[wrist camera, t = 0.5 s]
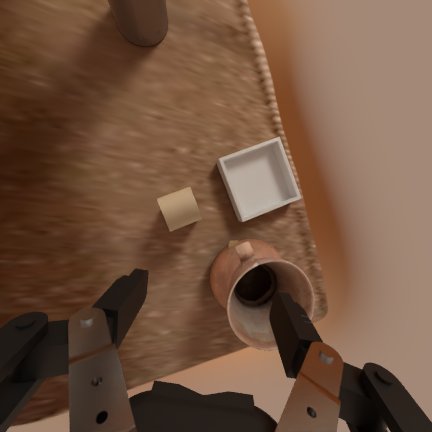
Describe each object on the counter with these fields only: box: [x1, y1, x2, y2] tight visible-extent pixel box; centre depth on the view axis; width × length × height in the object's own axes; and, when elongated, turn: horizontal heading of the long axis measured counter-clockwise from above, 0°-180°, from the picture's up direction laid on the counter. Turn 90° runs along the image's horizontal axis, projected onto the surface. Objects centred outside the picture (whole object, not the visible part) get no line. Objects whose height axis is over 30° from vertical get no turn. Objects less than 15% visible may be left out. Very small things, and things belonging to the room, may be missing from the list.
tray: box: [216, 137, 301, 222], centre depth 38 cm, size 12×12×4 cm
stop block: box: [157, 187, 203, 232], centre depth 33 cm, size 5×5×10 cm
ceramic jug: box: [210, 239, 314, 351], centre depth 33 cm, size 18×14×14 cm
